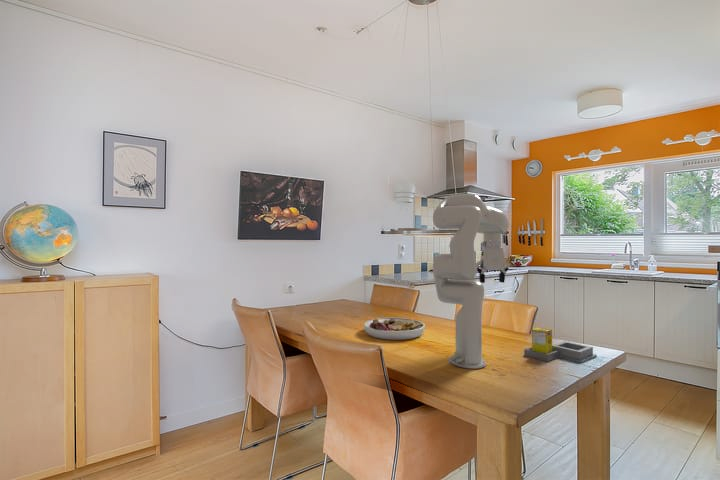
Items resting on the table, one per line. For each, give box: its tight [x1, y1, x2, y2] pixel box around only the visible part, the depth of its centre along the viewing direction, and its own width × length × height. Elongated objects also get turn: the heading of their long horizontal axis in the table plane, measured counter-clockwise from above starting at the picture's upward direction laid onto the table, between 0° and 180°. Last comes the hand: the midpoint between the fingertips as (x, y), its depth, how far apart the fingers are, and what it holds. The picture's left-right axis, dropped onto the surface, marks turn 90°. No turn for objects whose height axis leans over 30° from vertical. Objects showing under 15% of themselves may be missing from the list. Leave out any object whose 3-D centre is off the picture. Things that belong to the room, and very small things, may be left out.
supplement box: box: [531, 326, 553, 354], centre depth 153 cm, size 6×6×11 cm
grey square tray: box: [523, 346, 560, 362], centre depth 153 cm, size 10×10×2 cm
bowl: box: [363, 317, 426, 341], centre depth 190 cm, size 30×30×8 cm
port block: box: [552, 340, 598, 364], centre depth 153 cm, size 13×13×4 cm
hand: (492, 282), depth 174 cm, fingers open, 9 cm apart
